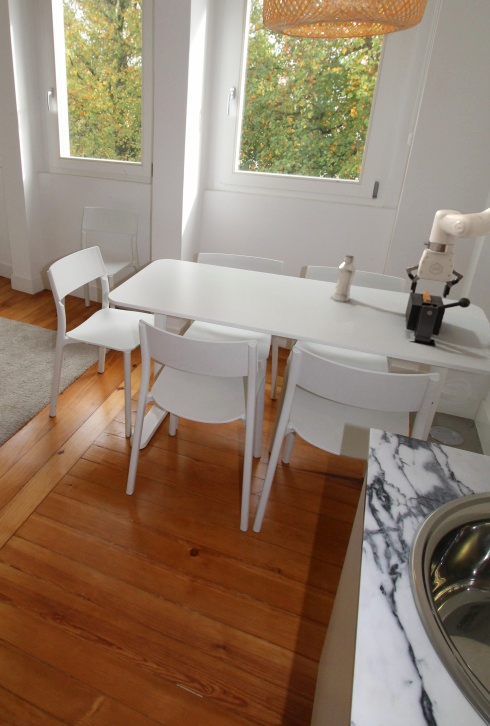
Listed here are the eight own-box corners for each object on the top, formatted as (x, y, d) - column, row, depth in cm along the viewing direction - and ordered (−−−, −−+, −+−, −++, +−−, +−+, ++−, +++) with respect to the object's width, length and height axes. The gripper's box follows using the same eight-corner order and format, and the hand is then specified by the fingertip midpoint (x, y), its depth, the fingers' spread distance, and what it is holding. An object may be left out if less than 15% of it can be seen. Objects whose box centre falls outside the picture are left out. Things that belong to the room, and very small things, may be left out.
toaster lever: (470, 304, 150) (468, 295, 150) (472, 307, 148) (469, 298, 147) (425, 313, 157) (422, 304, 156) (425, 316, 154) (423, 308, 154)
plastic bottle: (351, 304, 191) (362, 258, 183) (338, 307, 189) (349, 260, 180) (340, 298, 197) (350, 253, 188) (327, 300, 194) (337, 254, 186)
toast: (423, 316, 173) (428, 290, 169) (425, 326, 164) (430, 299, 161) (418, 315, 173) (423, 290, 170) (420, 325, 165) (425, 299, 161)
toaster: (434, 324, 174) (441, 296, 170) (437, 338, 162) (445, 309, 158) (403, 319, 178) (410, 292, 174) (405, 333, 166) (412, 304, 162)
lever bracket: (433, 340, 161) (442, 303, 156) (435, 349, 154) (445, 311, 149) (407, 335, 164) (415, 299, 159) (407, 344, 157) (417, 306, 152)
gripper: (412, 246, 159) (401, 293, 165) (472, 253, 152) (458, 302, 158) (411, 241, 165) (400, 287, 171) (468, 247, 158) (455, 295, 165)
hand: (428, 294), depth 165 cm, fingers open, 9 cm apart
